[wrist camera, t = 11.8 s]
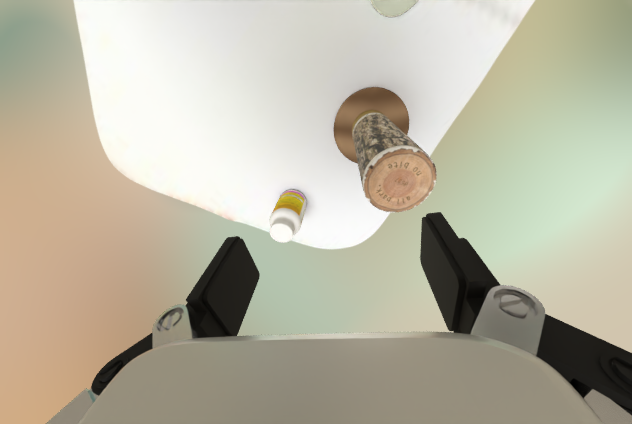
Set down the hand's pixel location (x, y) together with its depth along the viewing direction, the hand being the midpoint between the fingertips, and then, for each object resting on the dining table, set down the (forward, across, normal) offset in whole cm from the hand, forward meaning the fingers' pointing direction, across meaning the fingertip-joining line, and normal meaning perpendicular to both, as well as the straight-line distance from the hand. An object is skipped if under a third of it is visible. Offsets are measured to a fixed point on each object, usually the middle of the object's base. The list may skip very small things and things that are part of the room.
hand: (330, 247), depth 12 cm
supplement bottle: (+38, +14, +17) cm, 44 cm away
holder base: (+38, -6, +3) cm, 38 cm away
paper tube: (+37, -6, +3) cm, 37 cm away
